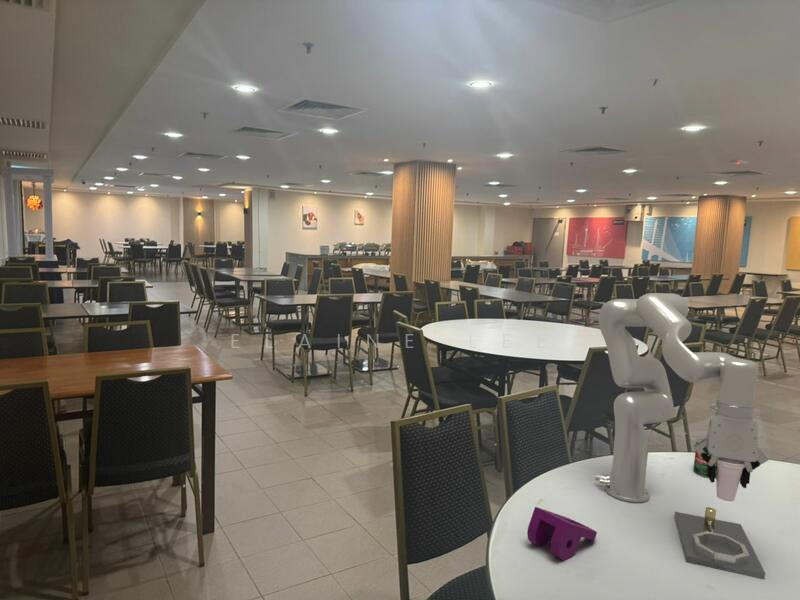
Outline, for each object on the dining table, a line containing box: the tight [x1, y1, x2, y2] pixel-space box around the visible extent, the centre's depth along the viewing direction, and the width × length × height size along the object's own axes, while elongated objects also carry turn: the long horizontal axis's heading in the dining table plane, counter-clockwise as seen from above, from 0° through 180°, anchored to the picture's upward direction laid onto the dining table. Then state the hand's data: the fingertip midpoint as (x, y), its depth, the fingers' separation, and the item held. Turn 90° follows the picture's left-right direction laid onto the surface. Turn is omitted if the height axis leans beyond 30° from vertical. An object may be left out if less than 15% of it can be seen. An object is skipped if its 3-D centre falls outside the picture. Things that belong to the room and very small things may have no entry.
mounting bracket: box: [527, 506, 598, 562], centre depth 134 cm, size 9×8×18 cm
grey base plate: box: [674, 507, 766, 580], centre depth 137 cm, size 16×24×6 cm, turn 159°
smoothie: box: [715, 457, 745, 502], centre depth 130 cm, size 6×6×14 cm
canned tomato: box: [693, 438, 716, 480], centre depth 182 cm, size 8×8×11 cm
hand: (727, 482), depth 130 cm, fingers closed on smoothie, 6 cm apart
